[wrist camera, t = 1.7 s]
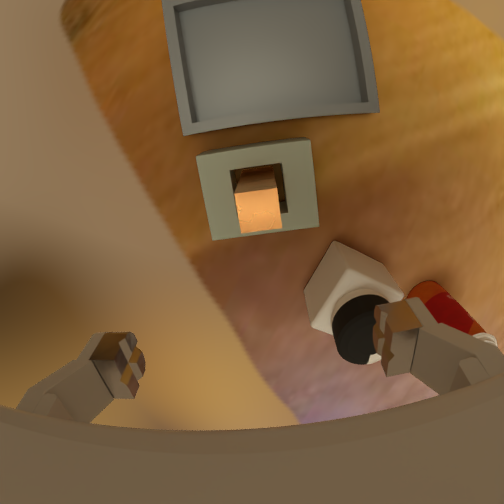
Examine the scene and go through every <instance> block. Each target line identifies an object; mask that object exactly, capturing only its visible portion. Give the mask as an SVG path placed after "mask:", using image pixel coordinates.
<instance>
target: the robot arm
mask: <svg viewBox="0 0 504 504" xmlns="http://www.w3.org/2000/svg"><path fill="white" fill-rule="evenodd" d="M374 318H375V320H376V322H377V323H376V324H375V325H374V326H373V343H374V347H375V350H376V353H377V354H378V355H380V356H381V365H382V367H383V370H384V372H385V375H386V377H389V376H394V375H399V374H404V373H408V372H411V374H412V375H414V376H415V377H416V378H418V379H419V380H420V381H422V382H423V383H424V384H426V385H427V386H429V387H430V388H431V389H433V390H434V391H435V392H437V393H438V394H439V396H435V397H432V398H429V399H425V400H421V401H418V402H414V403H411V404H407V405H403V406H399V407H395V408H391V409H386V410H382V411H378V412H373V413H368V414H363V415H358V416H353V417H347V418H342V419H336V420H329V421H323V422H316V423H308V424H300V425H291V426H281V427H270V428H258V429H243V430H242V429H241V430H214V431H213V430H211V431H186V430H184V431H183V430H155V429H140V428H127V427H116V426H107V425H99V424H92V423H90V422H91V421H92V420H93V419H94V418H95V417H96V416H97V415H98V414H99V413H100V412H101V411H102V410H103V409H105V408H106V406H108V405H109V404H110V403H111V402H112V401H113V400H114V399H113V398H120V399H121V398H122V399H134V398H135V396H136V393H137V390H138V388H139V383H138V380H139V379H140V378H141V377H143V374H144V372H145V359H144V356H143V353H142V351H141V350H140V349H138V348H137V347H136V344H137V339H136V337H135V335H134V334H133V333H131V332H100V333H95V334H93V335H92V337H91V338H90V340H89V341H88V343H87V344H86V346H85V348H84V349H83V351H82V352H81V354H80V355H79V357H78V359H77V360H72V361H71V362H69V363H68V364H66V365H65V366H63V367H62V368H60V369H59V370H57V371H55V372H54V373H52V374H51V375H49V376H48V377H46V378H45V379H43V380H42V381H40V382H38V383H37V384H35V385H34V386H32V387H31V388H29V389H28V390H27V392H26V393H25V395H24V397H23V398H22V400H21V401H20V403H19V404H18V406H17V407H16V409H14V408H10V407H6V406H2V405H0V504H504V355H503V354H502V353H501V351H500V350H499V349H498V347H496V346H494V345H491V344H489V343H487V342H485V341H482V340H480V339H478V338H475V337H473V336H471V335H469V334H466V333H464V332H462V331H459V330H457V329H455V328H453V327H450V326H448V325H446V324H443V323H439V324H438V323H437V322H436V320H435V319H434V317H433V316H432V315H431V313H430V312H429V311H428V309H427V308H426V306H425V305H424V304H423V302H422V301H421V300H420V298H418V297H414V298H409V299H405V300H402V301H397V302H392V303H386V304H381V305H376V306H375V309H374Z"/></svg>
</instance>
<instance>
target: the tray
mask: <svg viewBox="0 0 504 504" xmlns="http://www.w3.org/2000/svg"><path fill="white" fill-rule="evenodd" d="M162 7H163V14H164V21H165V28H166V35H167V42H168V49H169V55H170V62H171V68H172V74H173V80H174V86H175V92H176V98H177V104H178V109H179V115H180V121H181V126H182V132H183V136H186V135H191V134H196V133H201V132H207V131H212V130H218V129H223V128H229V127H235V126H242V125H248V124H255V123H262V122H270V121H278V120H286V119H295V118H304V117H315V116H327V115H340V114H357V113H380V109H379V101H378V93H377V86H376V78H375V72H374V65H373V59H372V53H371V48H370V42H369V37H368V32H367V27H366V22H365V18H364V13H363V9H362V4H361V0H162Z"/></svg>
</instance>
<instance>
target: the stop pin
mask: <svg viewBox="0 0 504 504" xmlns="http://www.w3.org/2000/svg"><path fill="white" fill-rule="evenodd" d="M234 195H235V201H236V207H237V213H238V218H239V224H240V230H241V234H242V233H249V232H257V231H264V230H272V229H280V228H282V222H281V214H280V207H279V199H278V192H277V185H276V181H275V176H274V171H273V166H267V167H259V168H252V169H245V170H242V173H241V176H240V178H239V181H238V184H237V187H236V190H235V193H234Z"/></svg>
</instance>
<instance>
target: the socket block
mask: <svg viewBox="0 0 504 504" xmlns="http://www.w3.org/2000/svg"><path fill="white" fill-rule="evenodd" d="M196 161H197V166H198V171H199V176H200V181H201V186H202V192H203V197H204V201H205V206H206V211H207V216H208V221H209V226H210V231H211V235H212V240H220V239H228V238H235V237H243V236H250V235H258V234H265V233H273V232H281V231H289V230H296V229H304V228H312V227H319V217H318V206H317V196H316V186H315V176H314V167H313V158H312V150H311V142H310V140H309V139H307V138H306V137H299V138H290V139H282V140H274V141H266V142H259V143H252V144H245V145H239V146H232V147H226V148H220V149H215V150H209V151H204V152H202V153H200V154H199V155H197V156H196ZM275 163H280V165H281V172H282V180H283V187H284V195H285V201H283V202H279V207H280V214H281V222H282V228H280V229H272V230H264V231H257V232H249V233H242V234H241V230H240V224H239V218H238V213H237V207H236V201H235V195H234V193H235V190H236V187H237V183H236V177H235V171H234V169H240V168H247V167H253V166H261V165H268V164H275Z"/></svg>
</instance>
